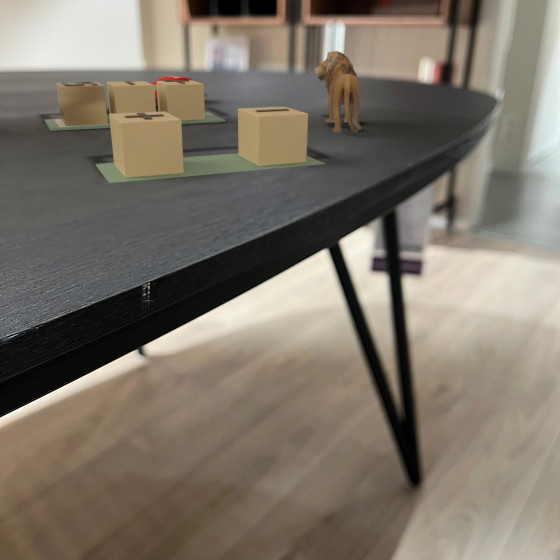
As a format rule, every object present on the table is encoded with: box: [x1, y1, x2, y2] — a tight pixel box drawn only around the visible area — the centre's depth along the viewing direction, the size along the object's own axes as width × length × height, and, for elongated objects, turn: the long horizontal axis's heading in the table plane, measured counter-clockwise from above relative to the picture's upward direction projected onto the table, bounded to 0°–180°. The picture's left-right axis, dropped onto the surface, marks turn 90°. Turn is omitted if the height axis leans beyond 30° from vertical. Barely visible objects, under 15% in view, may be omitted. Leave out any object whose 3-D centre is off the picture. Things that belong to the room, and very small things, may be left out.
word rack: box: [44, 79, 226, 132], centre depth 74 cm, size 22×7×5 cm, turn 115°
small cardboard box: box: [55, 81, 108, 126], centre depth 71 cm, size 5×5×5 cm
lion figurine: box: [313, 50, 363, 134], centre depth 73 cm, size 15×5×9 cm, turn 10°
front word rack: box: [95, 106, 326, 184], centre depth 52 cm, size 20×7×5 cm, turn 115°
